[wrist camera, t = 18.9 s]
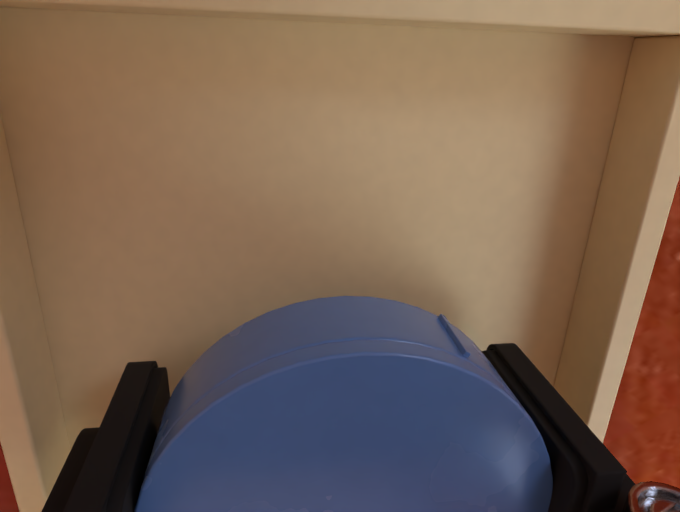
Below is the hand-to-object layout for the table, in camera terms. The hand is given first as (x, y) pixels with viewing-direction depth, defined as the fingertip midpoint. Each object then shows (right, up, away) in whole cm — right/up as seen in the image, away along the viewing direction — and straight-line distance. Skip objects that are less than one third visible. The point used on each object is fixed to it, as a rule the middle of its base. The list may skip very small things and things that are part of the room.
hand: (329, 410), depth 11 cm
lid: (0, -1, -3) cm, 3 cm away
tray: (0, +1, +2) cm, 2 cm away
